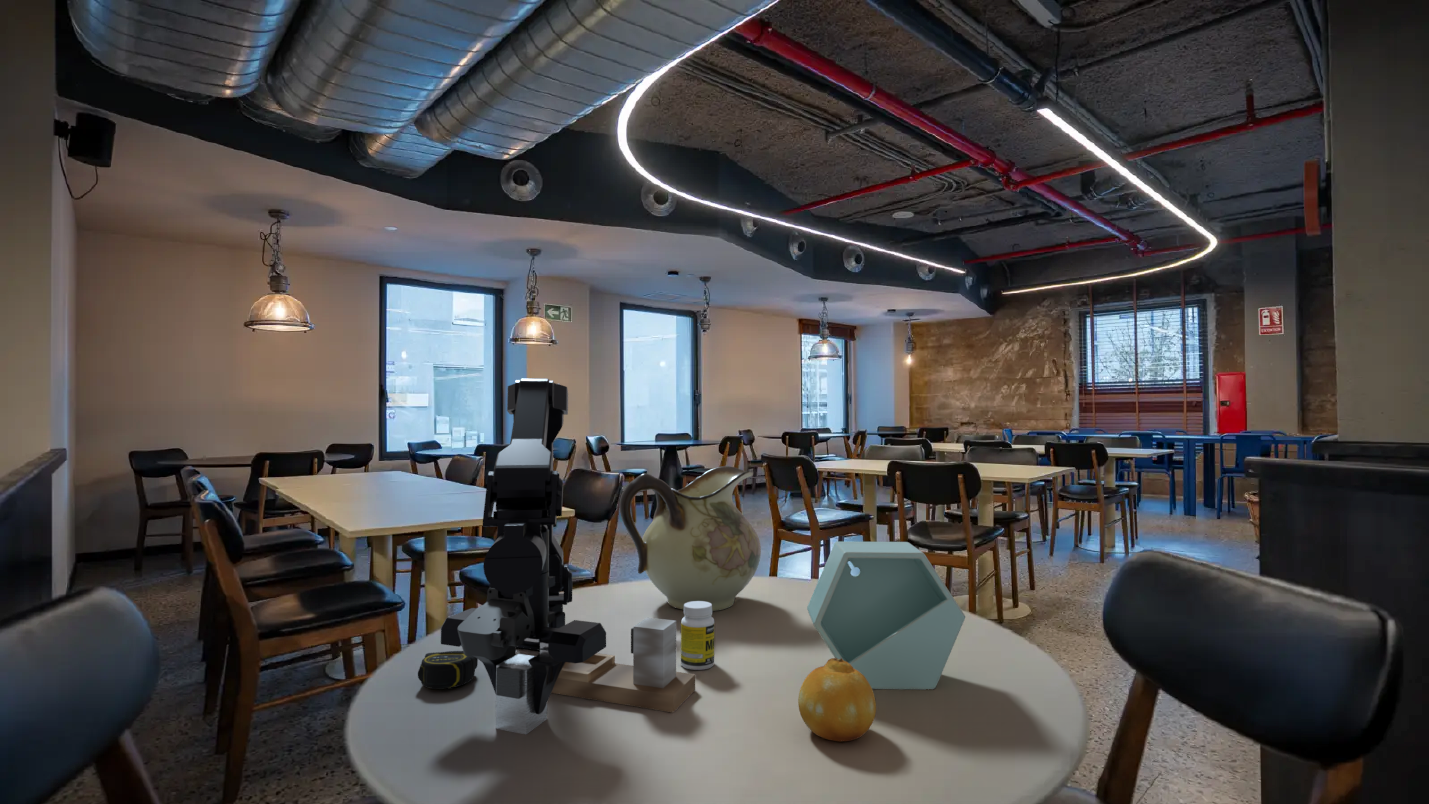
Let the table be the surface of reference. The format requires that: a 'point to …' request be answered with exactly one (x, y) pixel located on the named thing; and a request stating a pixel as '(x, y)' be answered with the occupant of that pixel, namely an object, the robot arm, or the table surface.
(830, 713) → the fruit
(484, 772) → the table surface
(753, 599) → the table surface
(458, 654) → the tape measure
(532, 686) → the grey rectangular block
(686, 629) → the supplement bottle
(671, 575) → the pitcher
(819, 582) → the planter
